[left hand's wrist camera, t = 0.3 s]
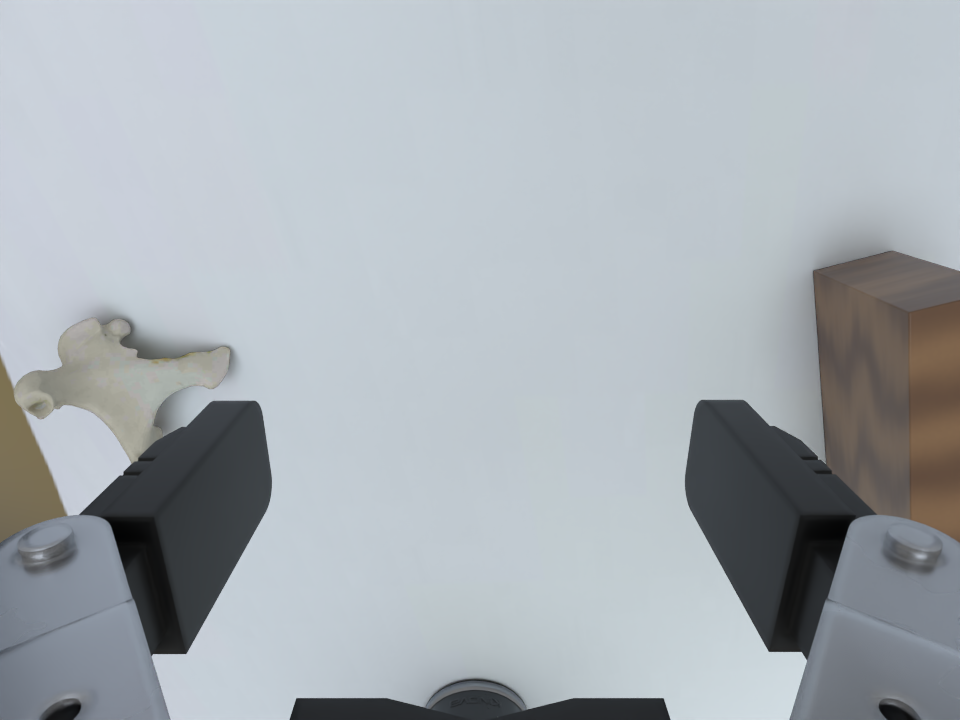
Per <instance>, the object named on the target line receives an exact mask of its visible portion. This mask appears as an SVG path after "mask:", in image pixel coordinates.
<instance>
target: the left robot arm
mask: <svg viewBox="0 0 960 720" xmlns="http://www.w3.org/2000/svg"><path fill="white" fill-rule="evenodd" d="M271 489H272V477H271V469H270V462H269V455H268V448H267V442H266V435H265V428H264V421H263V415H262V410H261V408H260V405H259V404H258V403H257V402H256V401H212V402H211V403H209V404H208V405H207V406H206V407H205V408H204V409H203V411H202V412H201V413H200V414H199V415H198V416H197V417H196V418H195V419H194V420H193V421H192V422H191V423H190V424H189V425H188V426H187V427H181V428H179V429H177V430H175V431H173V432H172V433H170V434H168V435H166V436H164V437H162V438H160V439H159V440H157V441H155V442H154V443H153V444H152V445H151V446H150V447H149V448H148V449H147V450H146V451H145V452H144V453H143V454H142V455H141V456H140V457H138V461H134V462H133V463H132V464H131V465H130V466H129V467H128V468H127V469H126V470H125V471H124V474H123V476H119V477H118V478H117V479H116V480H115V481H114V482H113V483H112V484H110V485H109V486H108V487H107V488H106V489H105V490H104V491H103V492H102V493H101V494H100V495H99V496H98V497H97V498H96V499H95V500H94V501H93V502H92V503H91V504H90V505H89V506H88V507H87V508H86V509H85V510H83V511H82V512H81V513H80V514H79V515H73V516H65V517H60V518H55V519H51V520H48V521H44V522H41V523H38V524H36V525H33V526H31V527H28V528H26V529H24V530H22V531H20V532H18V533H16V534H14V535H12V536H10V537H9V538H7V539H5V540H4V541H2V542H1V543H0V720H170V717H169V713H168V710H167V707H166V703H165V700H164V697H163V693H162V690H161V687H160V683H159V680H158V677H157V673H156V670H155V667H154V663H153V660H152V657H151V656H152V655H153V654H187V652H188V650H189V648H190V646H191V645H192V643H193V641H194V639H195V637H196V636H197V634H198V632H199V630H200V629H201V627H202V625H203V623H204V621H205V620H206V618H207V616H208V614H209V612H210V611H211V609H212V607H213V605H214V603H215V602H216V600H217V598H218V596H219V595H220V593H221V591H222V589H223V587H224V586H225V584H226V582H227V580H228V578H229V577H230V575H231V573H232V571H233V569H234V568H235V566H236V564H237V562H238V561H239V559H240V557H241V555H242V553H243V552H244V550H245V548H246V546H247V544H248V543H249V541H250V539H251V537H252V535H253V534H254V532H255V530H256V528H257V527H258V525H259V523H260V521H261V519H262V518H263V516H264V514H265V512H266V510H267V508H268V505H269V502H270V497H271ZM685 490H686V497H687V501H688V505H689V507H690V510H691V511H692V513H693V515H694V517H695V519H696V521H697V522H698V524H699V526H700V528H701V530H702V531H703V533H704V535H705V537H706V539H707V540H708V542H709V544H710V546H711V548H712V550H713V551H714V553H715V555H716V557H717V559H718V560H719V562H720V564H721V566H722V568H723V569H724V571H725V573H726V575H727V577H728V579H729V580H730V582H731V584H732V586H733V588H734V589H735V591H736V593H737V595H738V597H739V598H740V600H741V602H742V604H743V606H744V607H745V609H746V611H747V613H748V615H749V617H750V618H751V620H752V622H753V624H754V626H755V627H756V629H757V631H758V633H759V635H760V636H761V638H762V640H763V642H764V644H765V646H766V647H767V649H768V651H769V652H802V653H803V655H804V656H805V658H806V659H807V663H806V667H805V670H804V673H803V677H802V680H801V683H800V687H799V690H798V693H797V697H796V700H795V703H794V707H793V710H792V713H791V717H790V720H960V543H959V542H958V541H956V540H955V539H953V538H951V537H950V536H948V535H946V534H944V533H942V532H940V531H938V530H936V529H934V528H932V527H929V526H927V525H924V524H922V523H919V522H916V521H912V520H909V519H905V518H900V517H895V516H887V515H877V514H876V513H875V512H874V511H873V510H872V509H871V508H870V507H869V506H868V505H867V504H866V503H865V502H864V501H863V500H862V499H861V498H860V497H859V496H858V495H856V494H855V493H854V492H853V491H852V490H851V489H850V488H849V487H848V486H847V485H846V484H845V483H844V482H843V481H842V480H841V479H840V478H839V477H838V476H837V475H836V474H832V470H831V469H830V468H829V467H828V466H827V465H826V464H825V463H824V462H823V461H822V460H818V457H817V456H816V455H815V454H814V453H813V452H812V451H811V450H810V449H809V448H808V447H807V446H806V445H805V444H804V443H803V442H802V441H801V440H799V439H797V438H796V437H794V436H792V435H790V434H788V433H786V432H785V431H783V430H781V429H779V428H777V427H775V426H769V425H768V424H767V423H766V422H765V421H764V420H763V419H762V418H761V417H760V416H759V414H758V413H757V412H756V411H755V410H754V409H753V408H752V407H751V406H750V405H749V404H748V403H747V402H746V401H744V400H701V401H699V402H698V404H697V406H696V408H695V412H694V418H693V425H692V432H691V439H690V446H689V453H688V460H687V467H686V474H685ZM290 720H670V717H669V714H668V711H667V708H666V705H665V701H664V698H573V699H569V700H565V701H561V702H557V703H553V704H548V705H544V706H540V707H536V708H532V709H528V710H527V709H526V707H525V705H524V703H523V701H522V700H521V699H520V698H519V697H518V696H517V695H516V694H515V693H514V692H512V691H511V690H509V689H508V688H506V687H504V686H501V685H499V684H495V683H492V682H486V681H465V682H460V683H456V684H453V685H450V686H448V687H446V688H444V689H442V690H440V691H439V692H438V693H436V694H435V695H434V696H433V697H432V698H431V699H430V701H429V702H428V704H427V706H426V708H424V707H420V706H416V705H412V704H407V703H403V702H399V701H395V700H391V699H387V698H296V701H295V705H294V708H293V711H292V714H291V717H290Z"/></svg>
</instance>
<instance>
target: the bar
mask: <svg viewBox="0 0 960 720" xmlns="http://www.w3.org/2000/svg"><path fill="white" fill-rule="evenodd" d="M813 273H814V288H815V302H816V317H817V331H818V346H819V360H820V375H821V390H822V404H823V419H824V433H825V448H826V462H827V466H828V467H829V468H830V469H831V470H832V474H836V475H837V476H838V477H839V478H840V479H841V480H842V481H843V482H844V483H845V484H846V485H847V486H848V487H849V488H850V489H851V490H852V491H853V492H854V493H855V494H856V495H858V496H859V497H860V498H861V499H862V500H863V501H864V502H865V503H866V504H867V505H868V506H869V507H870V508H871V509H872V510H873V511H874V512H875V513H876V514H877V515H887V516H895V517H900V518H905V519H909V520H912V521H916V522H919V523H922V524H924V525H927V526H929V527H932V528H934V529H936V530H938V531H940V532H942V533H944V534H946V535H948V536H950V537H951V538H953V539H955V540H956V541H958V542H959V543H960V271H957V270H954V269H951V268H948V267H944V266H941V265H938V264H935V263H931V262H928V261H925V260H921V259H918V258H915V257H912V256H908V255H905V254H902V253H898V252H895V251H890V252H886V253H882V254H878V255H874V256H870V257H866V258H862V259H858V260H854V261H850V262H846V263H843V264H839V265H835V266H831V267H827V268H823V269H819V270H815V271H814V272H813Z"/></svg>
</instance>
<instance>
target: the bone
mask: <svg viewBox="0 0 960 720" xmlns="http://www.w3.org/2000/svg"><path fill="white" fill-rule="evenodd" d="M130 332H131V328H130V325H129V323H128V322H126V321H125V320H122V319H114V320H112V321H111V322H110V323H108V324H106V325H100V323H99V321H98V320H97V319H96V318H89V319H86V320H83V321H81V322H79V323H77V324H75V325H73V326H71V327H70V328H68V329H67V330H66V331H65V332H64V333H63V334H62V336H61V337H60V339H59V343H58V354H59V357H60V359H61V362H62V367H60V368H58V369H55V370H50V371H41V370H38V371H32V372H30V373H28V374H26V375H24V376H23V377H22V378H21V379H20V380H19V381H18V382H17V384H16V386H15V388H14V397H15V400H16V402H17V404H18V405H19V406H21V407H22V408H23V409H24V410H26V411H27V412H29V413H30V414H32V415H34V416H36V417H37V418H38V419H44V418H45V417H47V416H48V415H49V414H50V413H51V412H52V411H53V410H54V409H60V407H62V406H63V405H72V406H76V407H79V408H82V409H85V410H88V411H90V412H92V413H94V414H95V415H96V416H97V417H99V418H100V419H101V420H102V421H103V422H104V423H105V424H106V425H107V426H108V427H109V428H110V429H111V431H112V432H113V433H114V435H115V436H116V438H117V439H118V441H119V442H120V444H121V445H122V447H123V449H124V451H125V452H126V454H127V455H128V457H129V459H130V461H131V463H133V462H134V461H138V457H140V456H141V455H142V454H143V453H144V452H145V451H146V450H147V449H148V448H149V447H150V446H151V445H152V444H153V443H154V442H155V441H157V440H159V439H160V438H162V437H163V434H162V430H161V428H160V427H158V426H153V425H154V420H155V416H156V413H157V411H158V409H159V407H160V406H161V404H162V403H163V402H164V400H165V399H166V398H168V397H169V396H170V395H171V394H173V393H175V392H177V391H179V390H182V389H184V388H187V387H190V386H204V387H207V388H208V389H214V388H216V387H217V386H218V385H219V384H220V383H221V381H222V380H223V378H224V377H225V375H226V374H227V372H228V368H229V363H230V362H229V360H230V349H229V348H227V347H219V348H217V349H215V350H214V351H209V352H192V353H188V354H186V355H184V356H182V357H179V358H174V359H171V358H162V359H152V360H150V359H143V358H138V357H137V353H138V351H137V350H136V349H129V348H126V347H124V346H122V345H121V344H120V342H121V340H122V339H123V338H124V337H126V336H127V335H129V334H130Z"/></svg>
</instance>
